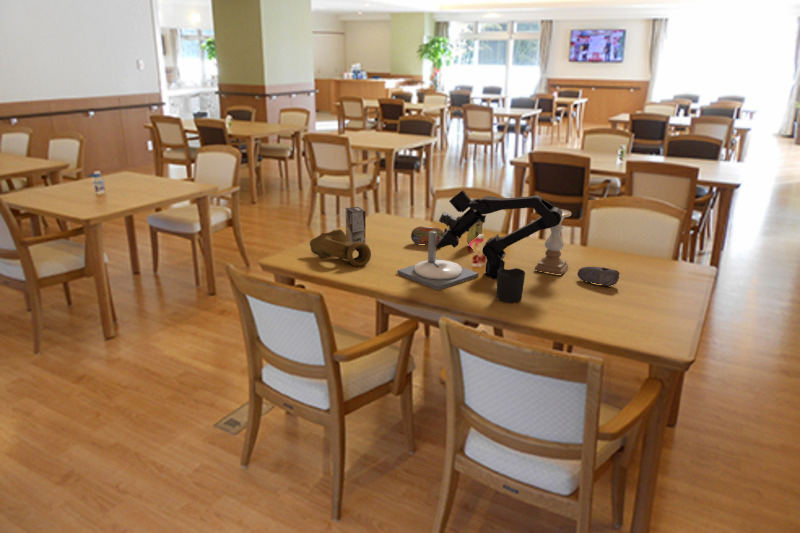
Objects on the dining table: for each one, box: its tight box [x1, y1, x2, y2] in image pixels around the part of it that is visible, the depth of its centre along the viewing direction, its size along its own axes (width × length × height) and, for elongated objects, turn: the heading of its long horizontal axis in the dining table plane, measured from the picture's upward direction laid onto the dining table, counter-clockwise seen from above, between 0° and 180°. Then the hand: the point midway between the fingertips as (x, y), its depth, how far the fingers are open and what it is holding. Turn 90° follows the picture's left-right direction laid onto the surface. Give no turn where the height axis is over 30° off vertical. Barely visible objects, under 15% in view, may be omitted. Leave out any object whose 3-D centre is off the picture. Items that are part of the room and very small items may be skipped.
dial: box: [414, 231, 462, 280], centre depth 226 cm, size 18×18×14 cm
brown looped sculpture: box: [309, 228, 372, 268], centre depth 242 cm, size 18×13×22 cm
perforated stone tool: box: [576, 266, 621, 287], centre depth 223 cm, size 15×5×7 cm, turn 54°
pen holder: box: [496, 268, 526, 304], centre depth 207 cm, size 9×9×10 cm
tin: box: [410, 225, 444, 245], centre depth 264 cm, size 15×3×8 cm, turn 73°
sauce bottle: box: [466, 210, 484, 244], centre depth 262 cm, size 7×6×20 cm
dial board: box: [396, 258, 479, 291], centre depth 229 cm, size 22×22×2 cm
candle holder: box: [534, 208, 572, 276], centre depth 234 cm, size 11×11×24 cm
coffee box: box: [345, 206, 367, 244], centre depth 261 cm, size 9×6×16 cm
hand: (436, 247), depth 232 cm, fingers closed, pressing on dial
